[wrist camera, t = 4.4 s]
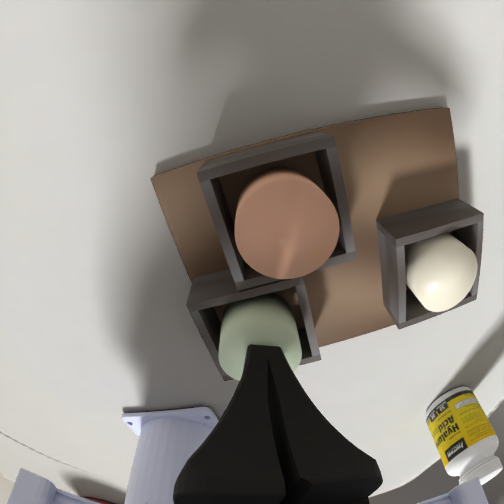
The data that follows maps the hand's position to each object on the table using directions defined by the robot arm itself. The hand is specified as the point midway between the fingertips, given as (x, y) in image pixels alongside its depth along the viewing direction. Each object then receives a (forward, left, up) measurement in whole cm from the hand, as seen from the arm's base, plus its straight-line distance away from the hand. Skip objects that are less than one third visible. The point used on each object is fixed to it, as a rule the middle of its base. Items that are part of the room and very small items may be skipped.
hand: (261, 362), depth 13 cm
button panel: (+2, -5, -5) cm, 7 cm away
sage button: (0, 0, -3) cm, 3 cm away
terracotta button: (+5, -2, -3) cm, 6 cm away
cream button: (0, -9, -4) cm, 10 cm away
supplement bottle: (-18, -14, -5) cm, 24 cm away
